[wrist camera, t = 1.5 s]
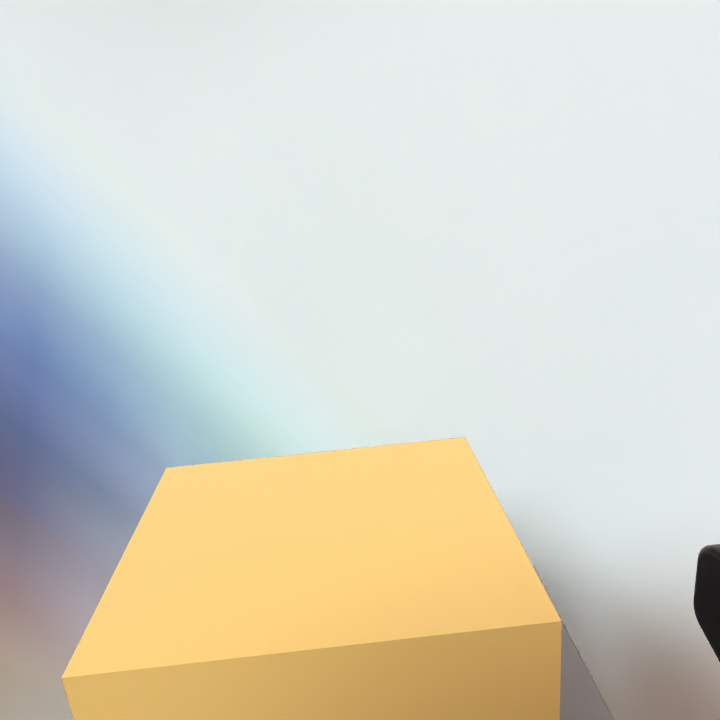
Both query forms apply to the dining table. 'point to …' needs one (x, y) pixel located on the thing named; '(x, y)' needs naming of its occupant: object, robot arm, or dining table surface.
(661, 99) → the dining table surface
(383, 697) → the lid
